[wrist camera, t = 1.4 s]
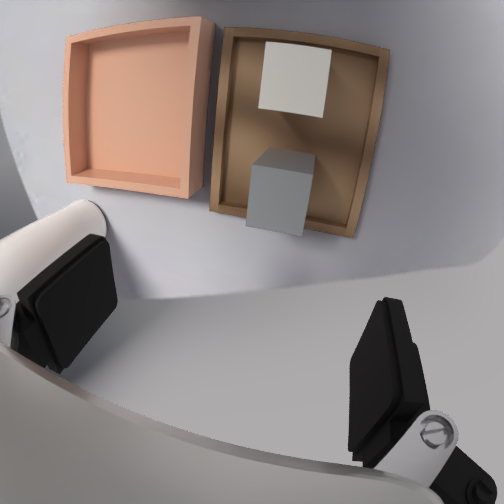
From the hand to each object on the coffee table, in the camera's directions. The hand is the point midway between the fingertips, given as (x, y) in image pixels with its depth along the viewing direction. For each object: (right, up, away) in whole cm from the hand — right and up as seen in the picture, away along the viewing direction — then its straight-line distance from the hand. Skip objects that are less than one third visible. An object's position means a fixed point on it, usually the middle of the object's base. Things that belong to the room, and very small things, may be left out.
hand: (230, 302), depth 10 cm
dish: (-9, +14, +12) cm, 21 cm away
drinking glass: (-16, +5, +20) cm, 26 cm away
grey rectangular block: (+3, +7, +13) cm, 15 cm away
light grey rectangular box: (+4, +13, +9) cm, 17 cm away
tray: (+4, +10, +11) cm, 16 cm away
